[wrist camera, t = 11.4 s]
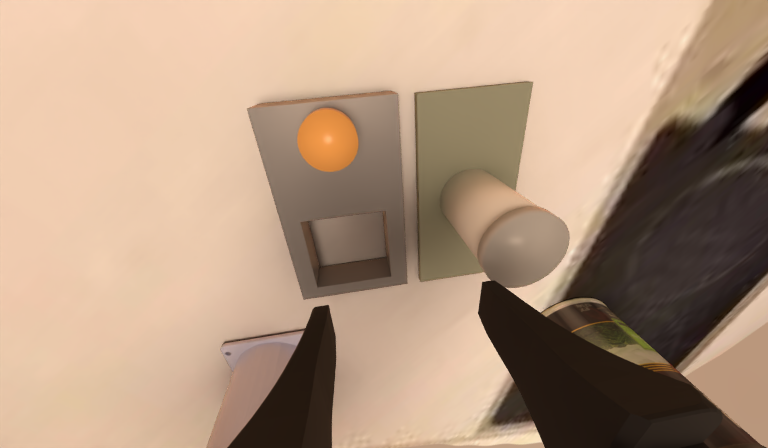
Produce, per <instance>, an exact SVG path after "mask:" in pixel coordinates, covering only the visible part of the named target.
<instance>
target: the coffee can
mask: <svg viewBox="0 0 768 448" xmlns="http://www.w3.org/2000/svg"><path fill="white" fill-rule="evenodd" d="M541 314H543V315H544V316H546V317H547V318H549V319H551V320H552V321H554V322H555V323H557V324H558V325H560V326H562V327H563V328H565V329H567V330H568V331H570V332H572V333H574V334H576V335H577V336H579V337H581V338H583V339H585V340H586V341H588V342H590V343H592V344H594V345H596V346H598V347H600V348H602V349H604V350H606V351H609V352H611V353H613V354H615V355H617V356H619V357H621V358H624V359H626V360H628V361H630V362H633V363H635V364H638V365H640V366H642V367H645V368H647V369H650V370H652V371H655V372H657V373H660V374H663V375H666V376H668V377H671V378H674V379H676V380H679V381H682V382H685V383H687V384H690V385H692V386H693V387H695V386H694V385H693V384H692V383H691V382H689V381H688V380H687V379H686V378H685V377H684V376H683V375H682V374H681V373H680V372H678V371H677V370H676V369H675V368H674V367H673V366H672V365H671V364H670V363H668V362H667V361H666V360H665V359H664V358H663V357H662V356H660V355H659V354H658V353H657V352H656V351H655V350H654V349H653V348H652V347H650V346H649V345H648V344H647V343H646V342H645V341H644V340H643V339H642V338H641V337H639V336H638V335H637V334H636V333H635V332H634V331H633V330H632V329H630V328H629V327H628V326H627V325H626V324H625V323H624V322H623V321H622V320H620V319H619V318H618V317H617V316H616V315H615V314H614V313H613V312H612V311H610V310H609V309H608V308H607V306H606V305H605V304H604V303H603V302H601V301H599V300H597V299H593V298H574V299H570V300H566V301H563V302H560V303H558V304H555V305H553V306H551V307H550V308H548V309H546V310H545V311H543V312H542V313H541ZM695 388H696V387H695ZM696 389H697V388H696ZM697 390H698V391H699V389H697ZM699 392H700V393H701V394H703V393H702V392H701V391H699ZM703 395H704V394H703ZM704 396H705V395H704ZM705 397H706V398H707V399H708V400H709V401H710V402H712V401H711V400H710V399H709V398H708V397H707V396H705ZM712 403H713V402H712ZM713 404H714V403H713ZM714 405H715V404H714ZM715 406H716V407H717V408H718V409H719V410H721V409H720V408H719V407H718V406H717V405H715ZM721 412H722V415H723V419H722V422H721V424H720V425H719V426H718V427H717V428H716V429H715V430H714V431H713V432H712V433H711V434H710V435H709V437H708V438H707V439H706V440H705V441H704V443H705V444H706V445H707V446H708V447H709V448H766V447H764V446H762V445H760V444H759V443H758V442H757V441H756V440H754V439H753V438H752V437H751V436H750V435H749V434H748V433H747V432H745V431H744V430H743V429H742V428H741V427H740V426H739V425H738V424H737V423H735V422H734V421H733V420H732V419H731V418H730V417H729V416H728V415H727V414H726V413H724V412H723V411H722V410H721Z"/></svg>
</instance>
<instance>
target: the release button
mask: <svg viewBox="0 0 768 448" xmlns="http://www.w3.org/2000/svg"><path fill="white" fill-rule="evenodd" d="M297 143H298V148H299V151H300V153H301V155H302V157H303V158H304V159H305V161H306V162H307V163H308V164H310V165H311V166H312V167H314V168H316V169H318V170H321V171H325V172H334V171H339V170H341V169H344V168H345V167H347V166H348V165H349V164H350V163H351V162H352V161H353V160H354V158H355V156H356V154H357V151H358V136H357V132H356V128H355V126H354V124H353V122H352V121H351V119H350V118H349V117H348V116H347V115H346V114H344V113H343V112H341V111H339V110H337V109H333V108H321V109H317V110H315V111H313V112H312V113H310V114H309V115H308V116H307V117H306V119H305V120H304V121H303V123H302V124H301V126H300V128H299V131H298V136H297Z"/></svg>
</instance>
